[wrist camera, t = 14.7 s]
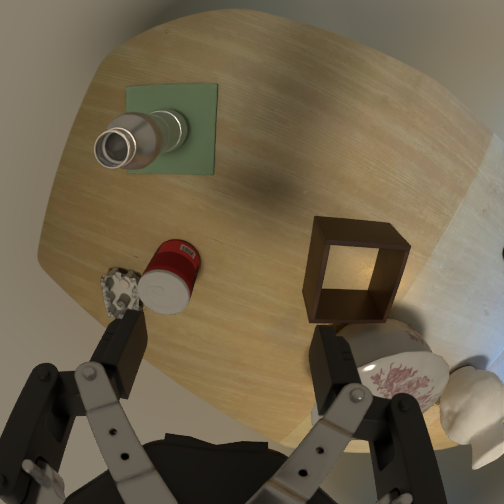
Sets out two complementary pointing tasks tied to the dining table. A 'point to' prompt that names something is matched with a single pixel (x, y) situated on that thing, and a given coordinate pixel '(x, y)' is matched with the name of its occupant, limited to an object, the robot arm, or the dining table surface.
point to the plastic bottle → (140, 138)
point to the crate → (354, 301)
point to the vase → (474, 413)
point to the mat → (196, 116)
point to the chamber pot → (395, 362)
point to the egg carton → (120, 292)
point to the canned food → (169, 278)
